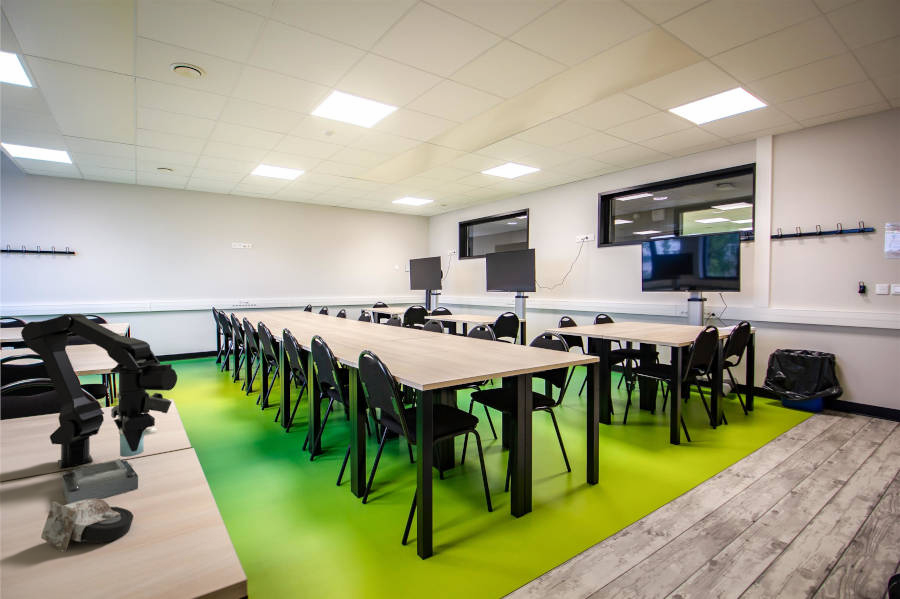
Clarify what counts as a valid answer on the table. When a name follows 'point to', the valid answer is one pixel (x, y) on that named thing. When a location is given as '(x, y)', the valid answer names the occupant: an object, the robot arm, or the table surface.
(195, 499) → the table surface
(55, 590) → the table surface
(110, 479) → the grey metal socket plate
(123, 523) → the caster wheel
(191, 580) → the table surface
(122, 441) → the pump canister
